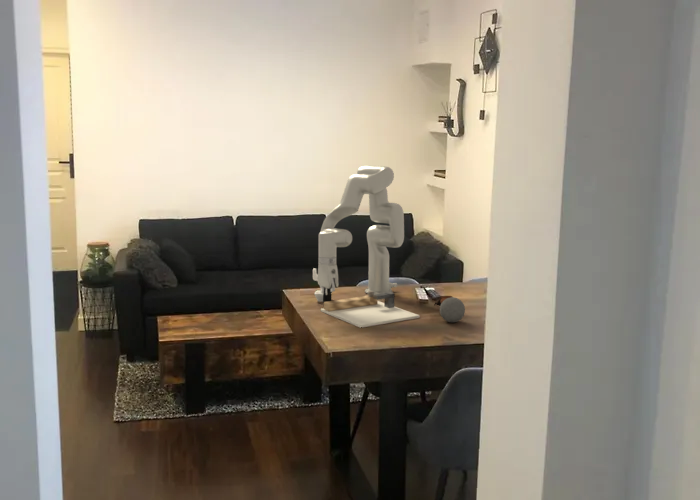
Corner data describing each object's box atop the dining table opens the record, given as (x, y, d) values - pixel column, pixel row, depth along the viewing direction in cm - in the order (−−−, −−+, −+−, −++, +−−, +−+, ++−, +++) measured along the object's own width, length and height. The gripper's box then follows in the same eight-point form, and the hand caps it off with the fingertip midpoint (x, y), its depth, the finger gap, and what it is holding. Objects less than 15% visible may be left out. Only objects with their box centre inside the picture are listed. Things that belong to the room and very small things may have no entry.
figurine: (332, 302, 332) (333, 269, 330) (311, 301, 333) (311, 268, 331) (334, 298, 339) (334, 265, 337) (313, 298, 340) (313, 265, 338)
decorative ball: (447, 317, 309) (448, 293, 307) (469, 321, 303) (470, 297, 301) (434, 322, 301) (435, 297, 300) (456, 326, 295) (456, 301, 293)
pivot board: (377, 302, 333) (377, 300, 333) (419, 317, 308) (419, 315, 308) (320, 311, 317) (320, 308, 317) (360, 327, 292) (360, 325, 292)
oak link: (372, 301, 330) (372, 289, 329) (380, 303, 325) (380, 292, 324) (322, 308, 316) (323, 296, 315) (329, 311, 312) (330, 299, 311)
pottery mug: (432, 315, 314) (430, 296, 316) (439, 320, 322) (437, 302, 325) (460, 311, 309) (458, 291, 312) (467, 316, 317) (464, 297, 320)
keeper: (390, 305, 324) (390, 291, 323) (394, 307, 321) (394, 293, 320) (373, 308, 319) (373, 294, 318) (377, 309, 316) (377, 295, 315)
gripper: (344, 262, 313) (344, 305, 316) (325, 257, 325) (325, 298, 328) (328, 264, 309) (328, 308, 312) (310, 258, 321) (310, 300, 324)
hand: (327, 303), depth 320 cm, fingers closed
